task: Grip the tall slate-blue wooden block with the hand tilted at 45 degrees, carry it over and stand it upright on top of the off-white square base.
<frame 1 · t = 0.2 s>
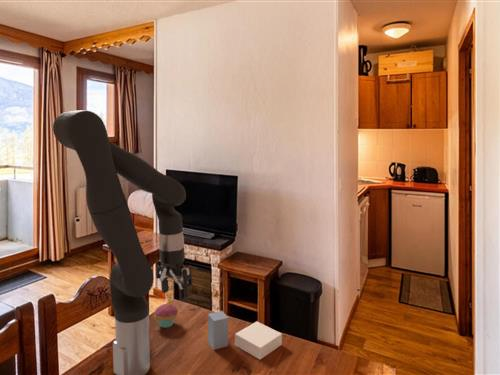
hand: (174, 295, 110), 18 cm above the table, tool pointing down, fingers open, 8 cm apart
cupcake: (166, 324, 127), on the table
base: (258, 344, 116), on the table
block: (217, 343, 116), on the table
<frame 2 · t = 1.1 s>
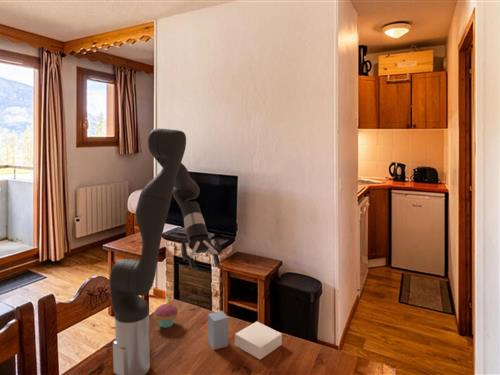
hand: (206, 267, 123), 22 cm above the table, tool tilted 45°, fingers open, 8 cm apart
nothing on the table moved.
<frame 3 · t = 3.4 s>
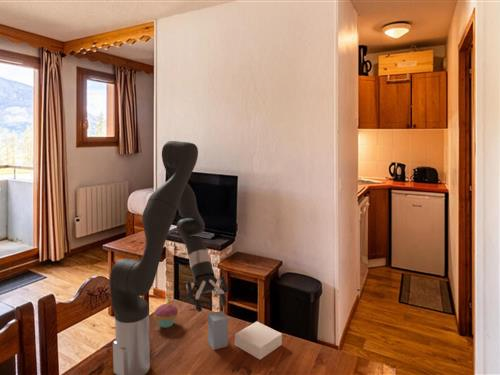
hand: (212, 308, 119), 10 cm above the table, tool tilted 45°, fingers open, 8 cm apart
nothing on the table moved.
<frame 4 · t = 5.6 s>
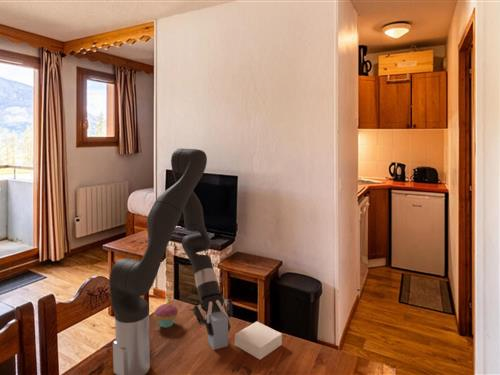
hand: (220, 333, 114), 5 cm above the table, tool tilted 45°, fingers closed on block, 5 cm apart
block: (217, 343, 116), on the table, touching gripper
everything else where it was.
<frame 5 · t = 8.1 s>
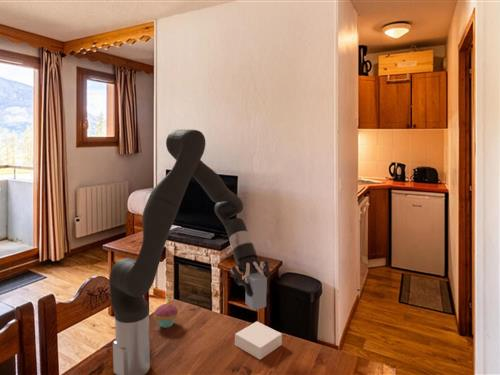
hand: (258, 293, 113), 18 cm above the table, tool tilted 45°, fingers closed on block, 5 cm apart
block: (255, 305, 115), point 14 cm above the table, touching gripper
everything else where it was.
when the fingers open (10 cm above the table, at t = 10.6 s): block drops 1 cm, resting on base.
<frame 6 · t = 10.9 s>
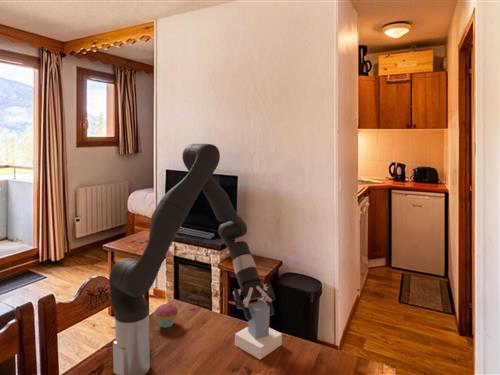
hand: (261, 317, 114), 11 cm above the table, tool tilted 45°, fingers open, 7 cm apart
block: (258, 333, 116), point 4 cm above the table, touching base
everything else where it was.
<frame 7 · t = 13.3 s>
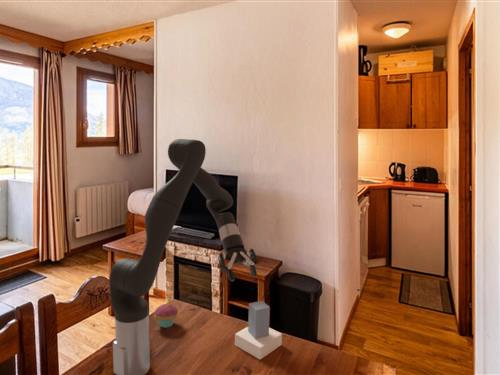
hand: (243, 278, 124), 19 cm above the table, tool tilted 45°, fingers open, 8 cm apart
nothing on the table moved.
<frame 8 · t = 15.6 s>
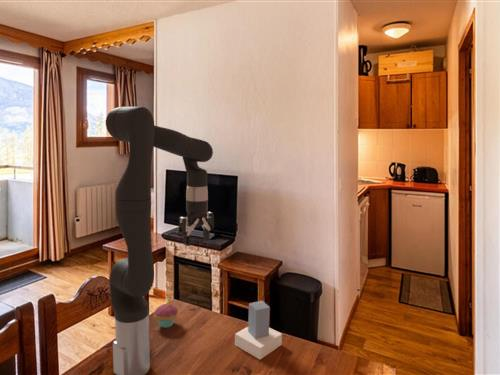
hand: (196, 242, 125), 30 cm above the table, tool pointing down, fingers open, 8 cm apart
nothing on the table moved.
at the end: block 0.1 cm off-centre on the base, point 4.0 cm above the base's base; block tilted 0°; the gripper is holding nothing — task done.
